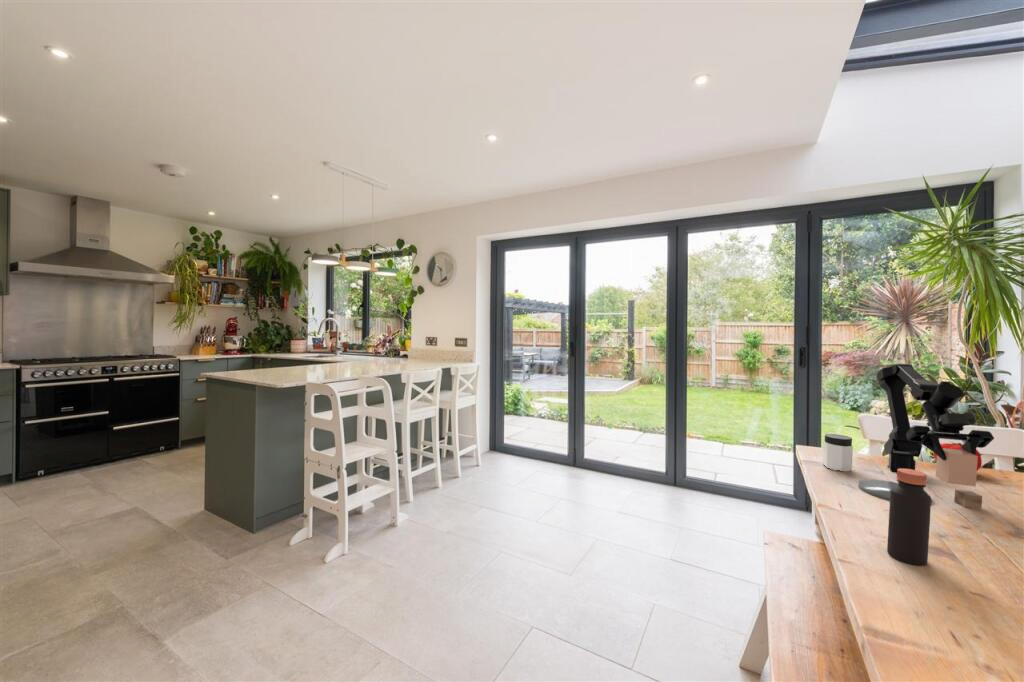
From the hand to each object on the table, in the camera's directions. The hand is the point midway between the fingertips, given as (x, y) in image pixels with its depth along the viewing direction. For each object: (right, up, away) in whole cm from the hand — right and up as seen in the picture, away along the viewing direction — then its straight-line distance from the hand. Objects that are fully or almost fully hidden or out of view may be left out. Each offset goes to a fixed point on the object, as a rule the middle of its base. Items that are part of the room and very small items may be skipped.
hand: (959, 461), depth 125 cm
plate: (-11, -13, +10) cm, 20 cm away
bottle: (-42, -14, -29) cm, 53 cm away
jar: (-11, -12, +33) cm, 37 cm away
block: (+3, -14, +1) cm, 14 cm away
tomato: (+33, -13, +32) cm, 48 cm away
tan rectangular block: (0, -7, +2) cm, 7 cm away
